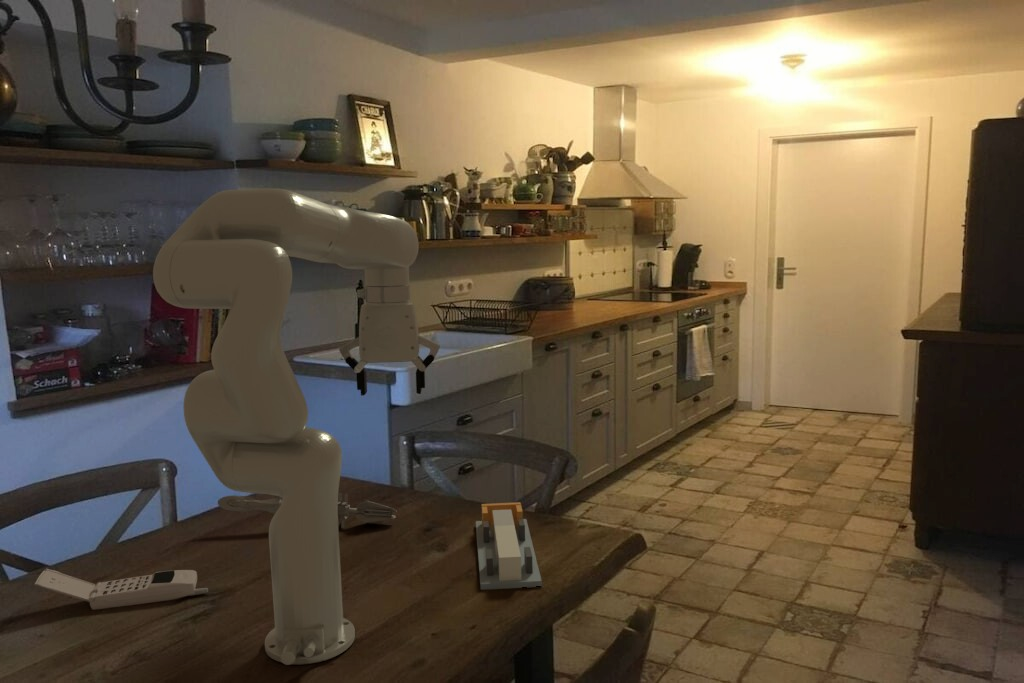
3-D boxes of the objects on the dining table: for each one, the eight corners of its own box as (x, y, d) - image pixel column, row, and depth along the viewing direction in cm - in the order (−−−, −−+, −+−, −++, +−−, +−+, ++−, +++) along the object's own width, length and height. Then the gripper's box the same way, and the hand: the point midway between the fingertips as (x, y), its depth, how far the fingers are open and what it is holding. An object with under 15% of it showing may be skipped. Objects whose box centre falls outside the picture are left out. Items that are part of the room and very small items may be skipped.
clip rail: (541, 586, 133) (541, 557, 133) (480, 589, 133) (480, 560, 132) (526, 523, 161) (525, 499, 160) (475, 526, 160) (475, 501, 159)
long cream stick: (521, 579, 134) (520, 556, 133) (499, 580, 134) (498, 557, 133) (511, 529, 155) (511, 509, 155) (492, 530, 155) (492, 510, 155)
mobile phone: (42, 568, 131) (207, 548, 137) (46, 602, 132) (210, 581, 138) (31, 584, 125) (204, 563, 131) (35, 620, 126) (207, 597, 132)
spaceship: (226, 483, 165) (214, 480, 157) (399, 494, 167) (396, 492, 159) (220, 523, 163) (208, 522, 155) (395, 534, 165) (392, 534, 157)
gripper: (333, 298, 136) (338, 399, 138) (437, 296, 137) (440, 396, 139) (340, 295, 143) (345, 390, 146) (438, 293, 144) (441, 387, 147)
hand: (391, 393), depth 143 cm, fingers open, 9 cm apart
